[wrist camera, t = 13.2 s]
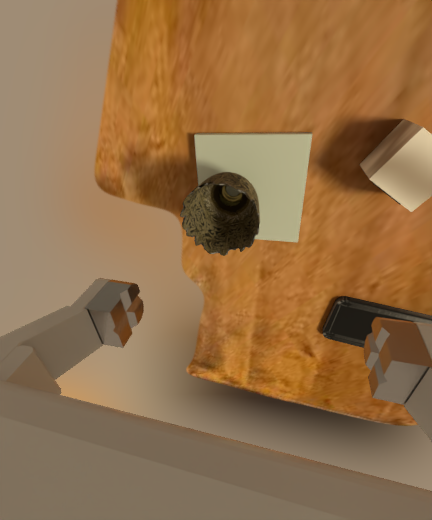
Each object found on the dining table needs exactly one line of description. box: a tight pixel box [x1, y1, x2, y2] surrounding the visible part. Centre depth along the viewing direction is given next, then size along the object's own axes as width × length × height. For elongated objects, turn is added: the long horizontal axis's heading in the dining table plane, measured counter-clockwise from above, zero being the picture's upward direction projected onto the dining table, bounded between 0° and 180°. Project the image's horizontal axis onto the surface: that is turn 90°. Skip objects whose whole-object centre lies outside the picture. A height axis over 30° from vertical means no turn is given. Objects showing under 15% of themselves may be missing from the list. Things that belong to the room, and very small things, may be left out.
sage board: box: [194, 133, 312, 242], centre depth 32 cm, size 12×12×1 cm
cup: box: [180, 172, 260, 256], centre depth 29 cm, size 8×7×8 cm
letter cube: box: [359, 119, 432, 212], centre depth 25 cm, size 5×5×5 cm
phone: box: [323, 296, 432, 348], centre depth 38 cm, size 8×1×15 cm
